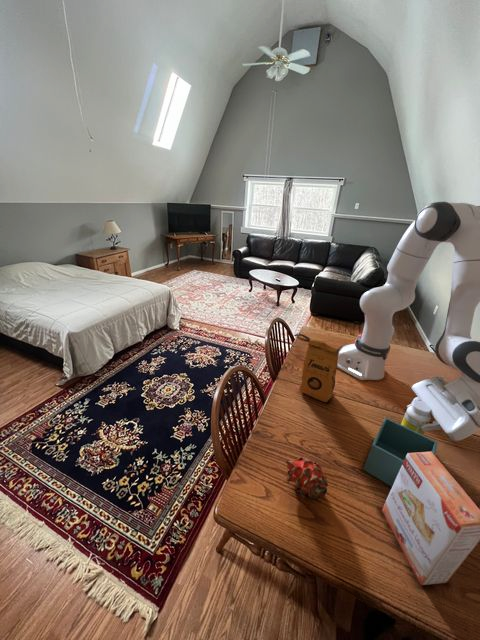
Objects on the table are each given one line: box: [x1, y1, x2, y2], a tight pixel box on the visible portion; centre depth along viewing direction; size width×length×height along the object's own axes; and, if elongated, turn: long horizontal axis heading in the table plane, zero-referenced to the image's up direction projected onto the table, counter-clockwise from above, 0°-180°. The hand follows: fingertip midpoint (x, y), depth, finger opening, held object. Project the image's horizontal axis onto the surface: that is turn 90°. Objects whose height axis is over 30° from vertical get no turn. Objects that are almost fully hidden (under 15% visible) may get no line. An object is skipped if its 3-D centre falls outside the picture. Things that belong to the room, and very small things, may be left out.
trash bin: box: [362, 417, 439, 488], centre depth 73 cm, size 13×13×10 cm
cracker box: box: [381, 452, 480, 586], centre depth 54 cm, size 14×6×21 cm, turn 5°
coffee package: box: [298, 338, 339, 403], centre depth 98 cm, size 10×12×22 cm
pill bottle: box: [400, 401, 432, 436], centre depth 82 cm, size 6×6×11 cm
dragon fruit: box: [285, 456, 329, 501], centre depth 68 cm, size 8×8×12 cm
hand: (414, 418), depth 81 cm, fingers closed on pill bottle, 6 cm apart
